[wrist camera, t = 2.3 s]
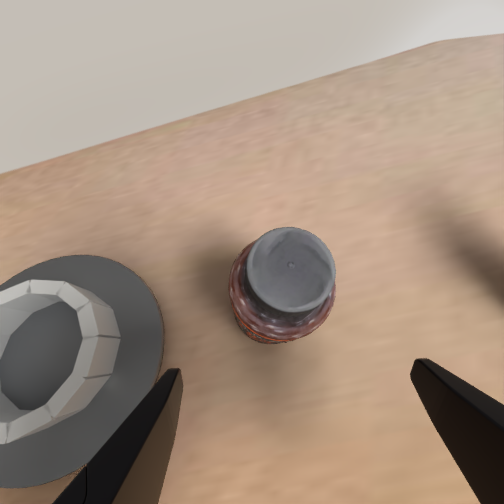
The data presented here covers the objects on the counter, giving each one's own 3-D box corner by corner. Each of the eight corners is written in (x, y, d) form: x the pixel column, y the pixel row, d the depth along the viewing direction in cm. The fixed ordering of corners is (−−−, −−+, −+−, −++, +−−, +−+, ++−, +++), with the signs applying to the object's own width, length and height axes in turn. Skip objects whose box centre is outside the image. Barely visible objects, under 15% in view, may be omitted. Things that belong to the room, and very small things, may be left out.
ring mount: (47, 543, 15) (-19, 606, 11) (-94, 385, 18) (-181, 393, 14) (203, 322, 20) (194, 315, 17) (73, 229, 23) (41, 206, 20)
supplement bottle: (222, 326, 20) (195, 298, 10) (251, 265, 22) (254, 189, 12) (288, 357, 19) (336, 364, 9) (312, 291, 21) (373, 234, 11)
